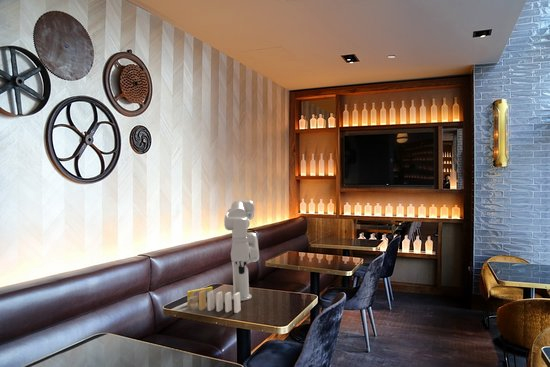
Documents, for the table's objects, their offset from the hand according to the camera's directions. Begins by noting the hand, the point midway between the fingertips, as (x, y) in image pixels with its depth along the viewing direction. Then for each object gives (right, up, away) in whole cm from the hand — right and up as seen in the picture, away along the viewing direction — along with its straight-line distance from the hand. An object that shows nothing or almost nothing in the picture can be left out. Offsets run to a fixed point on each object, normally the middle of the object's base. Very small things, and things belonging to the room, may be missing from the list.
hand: (241, 273), depth 218 cm
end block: (-29, -22, +11) cm, 38 cm away
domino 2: (-18, -22, +7) cm, 29 cm away
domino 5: (-2, -22, +2) cm, 22 cm away
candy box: (-27, -23, +21) cm, 41 cm away
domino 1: (-23, -22, +9) cm, 33 cm away
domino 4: (-8, -22, +3) cm, 23 cm away
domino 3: (-13, -22, +5) cm, 26 cm away
